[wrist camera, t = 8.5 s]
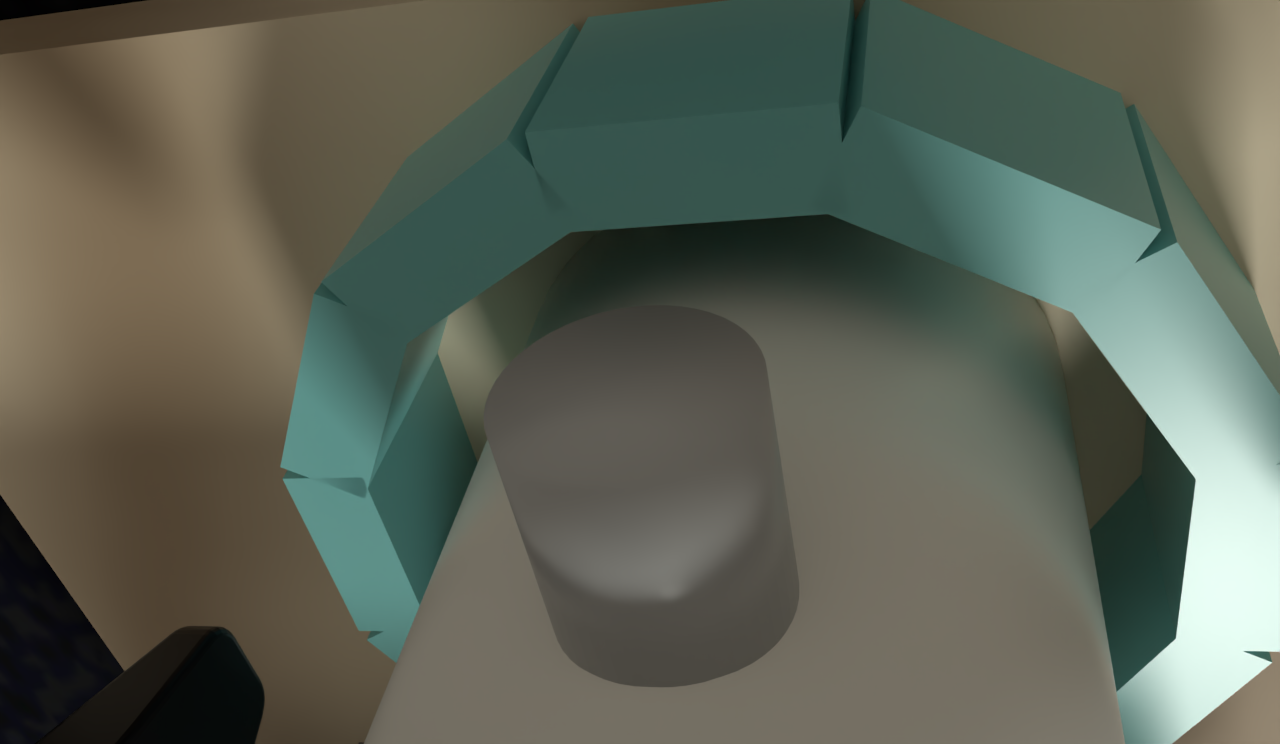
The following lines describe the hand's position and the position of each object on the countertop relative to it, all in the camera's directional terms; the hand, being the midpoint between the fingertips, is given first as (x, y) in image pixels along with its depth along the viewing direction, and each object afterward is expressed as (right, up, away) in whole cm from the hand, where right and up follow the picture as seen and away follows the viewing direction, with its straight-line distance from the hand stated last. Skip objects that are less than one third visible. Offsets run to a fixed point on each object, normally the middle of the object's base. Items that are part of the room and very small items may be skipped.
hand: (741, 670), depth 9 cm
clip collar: (+1, +3, +3) cm, 4 cm away
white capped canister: (+1, +2, +2) cm, 3 cm away
